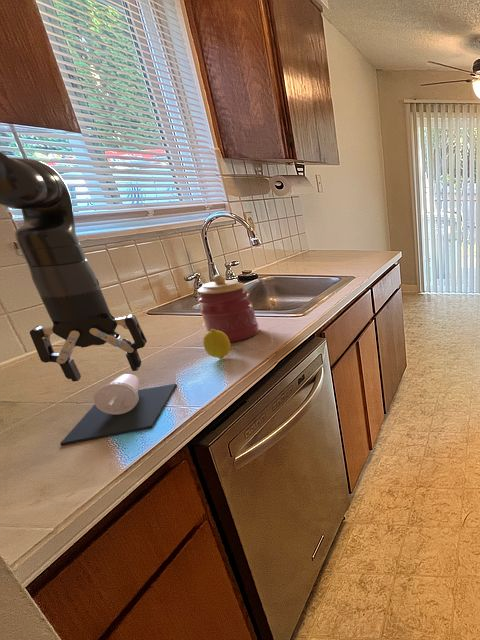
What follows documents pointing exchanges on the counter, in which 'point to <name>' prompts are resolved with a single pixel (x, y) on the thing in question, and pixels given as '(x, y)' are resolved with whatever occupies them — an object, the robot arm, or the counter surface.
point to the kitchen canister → (228, 308)
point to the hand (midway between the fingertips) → (107, 374)
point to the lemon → (217, 343)
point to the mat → (122, 417)
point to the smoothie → (118, 395)
